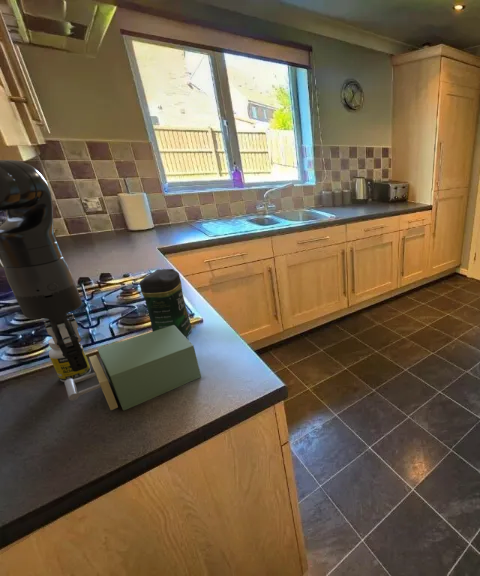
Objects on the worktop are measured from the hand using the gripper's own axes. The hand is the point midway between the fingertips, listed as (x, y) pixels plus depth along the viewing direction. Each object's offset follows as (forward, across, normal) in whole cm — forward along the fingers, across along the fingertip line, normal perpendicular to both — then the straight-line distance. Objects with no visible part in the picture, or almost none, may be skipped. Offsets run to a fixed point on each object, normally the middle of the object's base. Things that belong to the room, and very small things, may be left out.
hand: (80, 368), depth 63 cm
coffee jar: (+9, -17, +20) cm, 28 cm away
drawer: (+8, 0, +6) cm, 10 cm away
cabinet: (+9, 0, +11) cm, 14 cm away
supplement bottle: (+9, -14, -1) cm, 17 cm away
